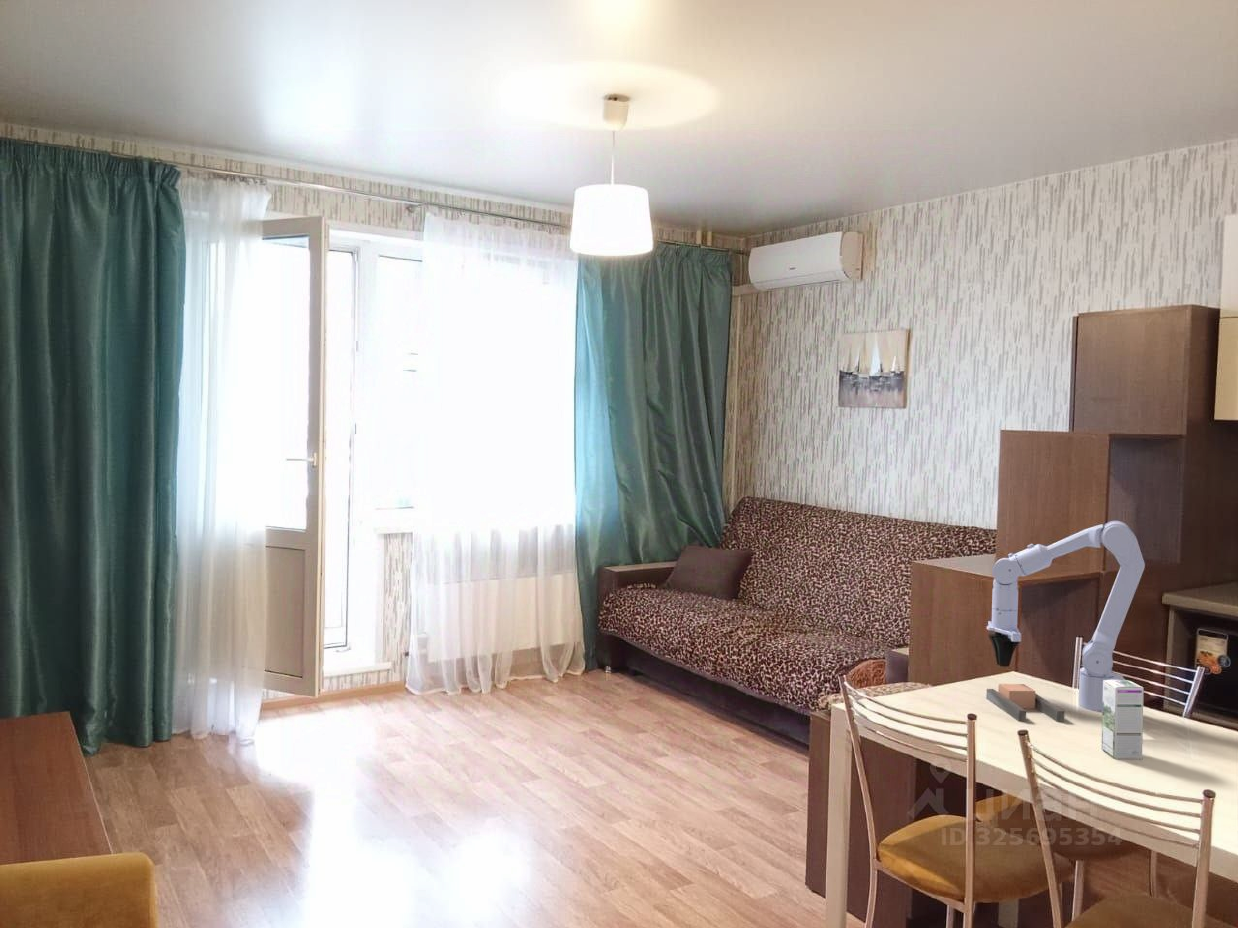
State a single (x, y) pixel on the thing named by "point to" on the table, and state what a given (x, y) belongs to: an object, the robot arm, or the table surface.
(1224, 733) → the table surface
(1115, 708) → the syrup box
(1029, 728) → the table surface
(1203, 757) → the table surface
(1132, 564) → the robot arm
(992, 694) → the grey parallel rails
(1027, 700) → the terracotta block
